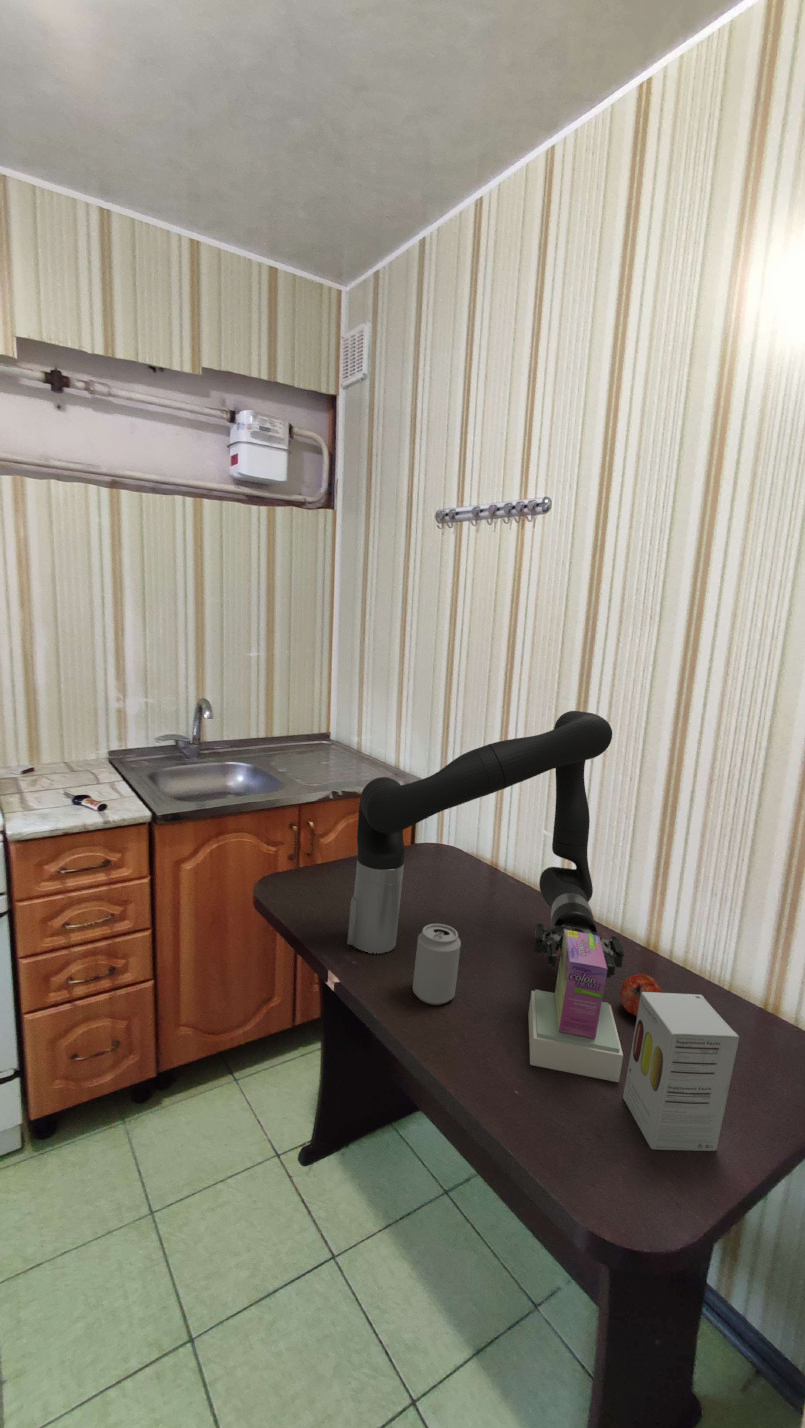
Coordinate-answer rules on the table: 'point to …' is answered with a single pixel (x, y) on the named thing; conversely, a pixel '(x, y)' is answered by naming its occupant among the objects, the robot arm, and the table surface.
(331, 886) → the table surface
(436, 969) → the can
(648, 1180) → the table surface
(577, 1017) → the box
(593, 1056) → the podium
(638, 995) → the pomegranate
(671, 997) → the supplement box
